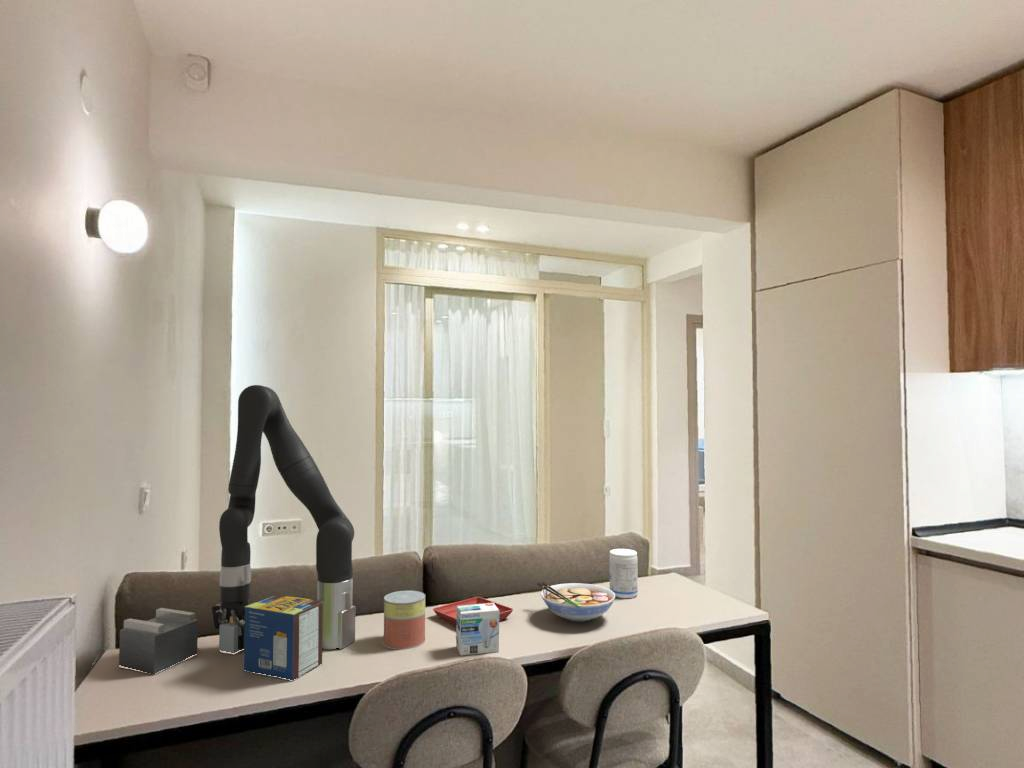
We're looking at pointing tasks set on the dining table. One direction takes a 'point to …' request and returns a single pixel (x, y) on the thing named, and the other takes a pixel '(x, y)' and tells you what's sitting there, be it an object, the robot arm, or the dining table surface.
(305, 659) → the protein box
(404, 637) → the canned food
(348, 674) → the dining table surface
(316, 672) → the dining table surface
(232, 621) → the block
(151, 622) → the grey ridged block
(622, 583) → the supplement tub
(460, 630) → the light bulb box
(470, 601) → the plant saucer
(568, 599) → the ramen bowl
